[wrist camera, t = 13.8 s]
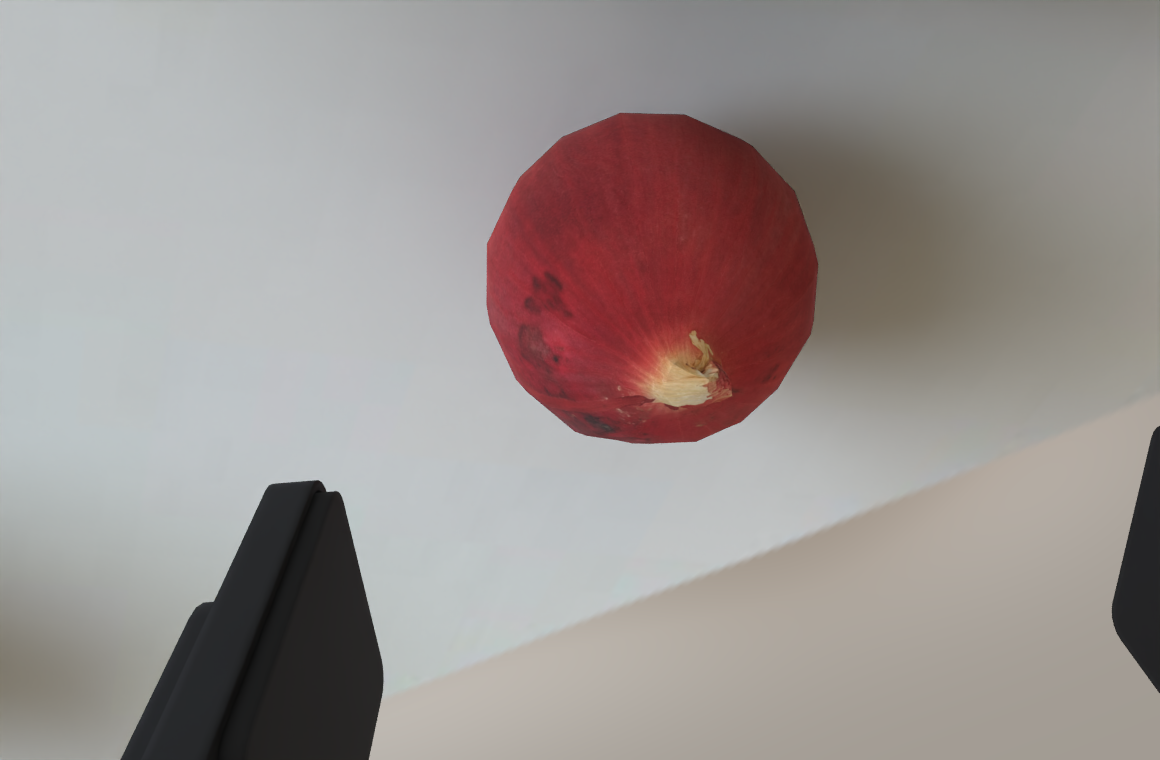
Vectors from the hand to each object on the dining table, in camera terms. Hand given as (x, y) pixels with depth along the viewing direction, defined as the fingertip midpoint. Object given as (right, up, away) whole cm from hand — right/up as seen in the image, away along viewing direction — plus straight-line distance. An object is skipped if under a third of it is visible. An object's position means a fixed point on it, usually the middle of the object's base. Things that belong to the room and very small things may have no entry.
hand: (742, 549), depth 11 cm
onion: (-1, +6, +9) cm, 11 cm away
